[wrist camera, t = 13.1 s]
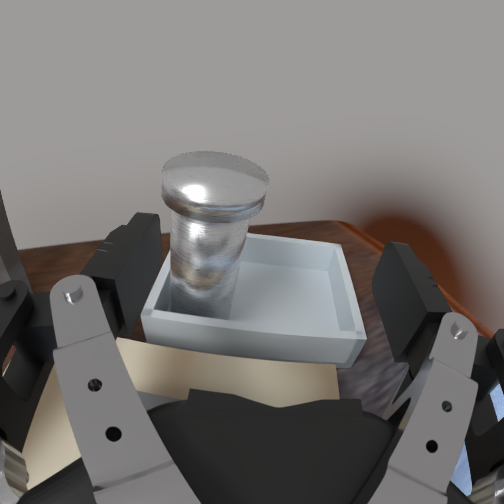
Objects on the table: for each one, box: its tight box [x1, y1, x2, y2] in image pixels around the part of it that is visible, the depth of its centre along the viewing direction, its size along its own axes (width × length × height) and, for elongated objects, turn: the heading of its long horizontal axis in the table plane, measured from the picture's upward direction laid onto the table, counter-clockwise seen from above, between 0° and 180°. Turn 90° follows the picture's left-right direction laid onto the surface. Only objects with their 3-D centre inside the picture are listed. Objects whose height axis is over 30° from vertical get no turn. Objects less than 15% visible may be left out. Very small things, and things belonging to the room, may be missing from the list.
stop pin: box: [162, 151, 269, 320], centre depth 17 cm, size 5×5×10 cm
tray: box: [141, 233, 367, 368], centre depth 21 cm, size 13×10×3 cm
